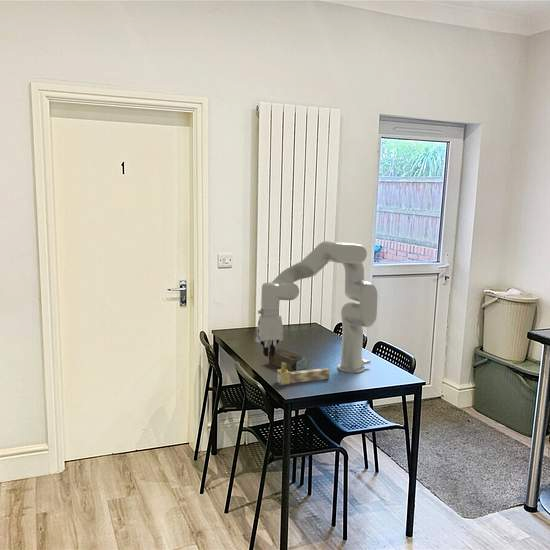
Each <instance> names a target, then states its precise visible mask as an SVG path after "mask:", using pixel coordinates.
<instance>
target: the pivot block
mask: <svg viewBox="0 0 550 550" xmlns="http://www.w3.org/2000/svg"><path fill="white" fill-rule="evenodd" d="M277 383H279V384H278V385H279V386H282V385H281V374H280V373H278V382H277Z"/></svg>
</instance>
